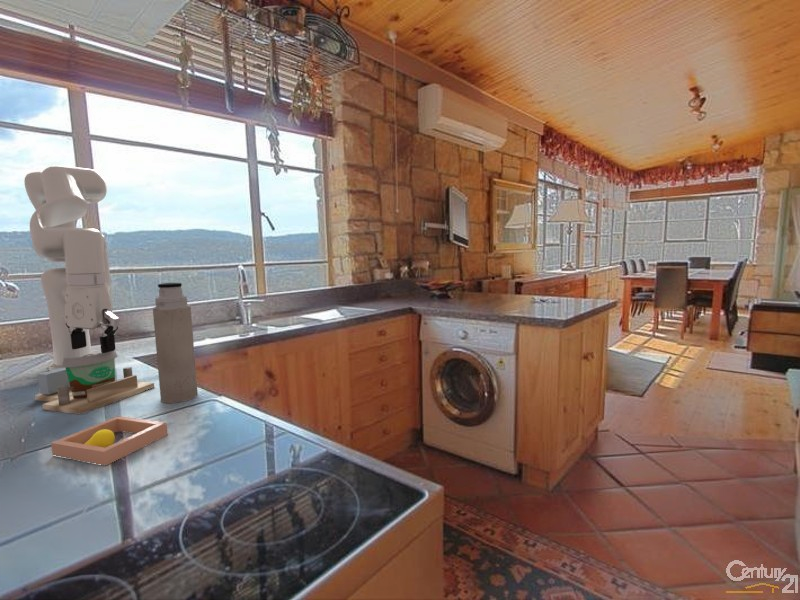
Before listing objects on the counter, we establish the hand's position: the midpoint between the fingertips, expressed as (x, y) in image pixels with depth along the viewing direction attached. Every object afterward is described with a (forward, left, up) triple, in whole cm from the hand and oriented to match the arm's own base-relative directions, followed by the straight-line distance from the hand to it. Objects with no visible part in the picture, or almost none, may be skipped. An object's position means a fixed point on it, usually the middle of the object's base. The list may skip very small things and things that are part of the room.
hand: (93, 349), depth 103 cm
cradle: (-3, -1, -12) cm, 12 cm away
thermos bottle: (+21, +4, -12) cm, 25 cm away
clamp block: (-11, -1, -10) cm, 15 cm away
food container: (+2, 0, -11) cm, 11 cm away
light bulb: (+29, -22, -12) cm, 38 cm away
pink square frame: (+30, -20, -12) cm, 38 cm away
